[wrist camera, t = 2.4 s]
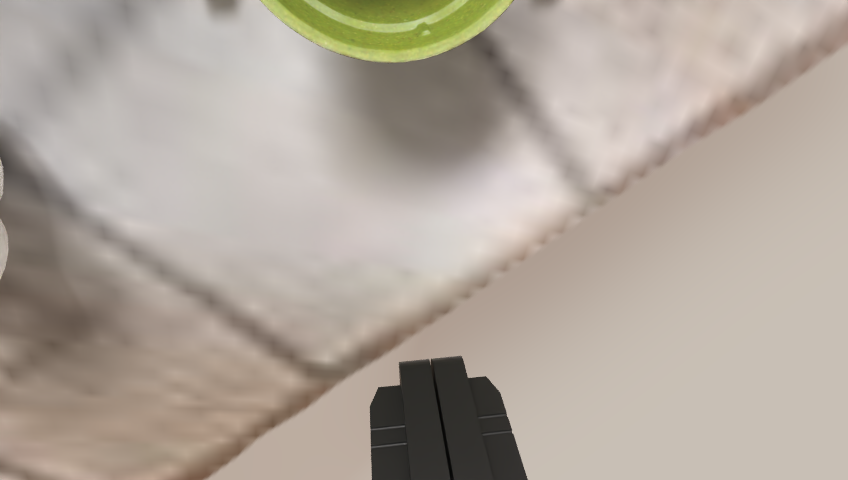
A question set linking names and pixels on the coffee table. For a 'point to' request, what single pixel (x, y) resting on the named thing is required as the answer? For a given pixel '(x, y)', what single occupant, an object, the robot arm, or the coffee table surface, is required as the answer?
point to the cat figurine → (2, 232)
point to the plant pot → (388, 25)
